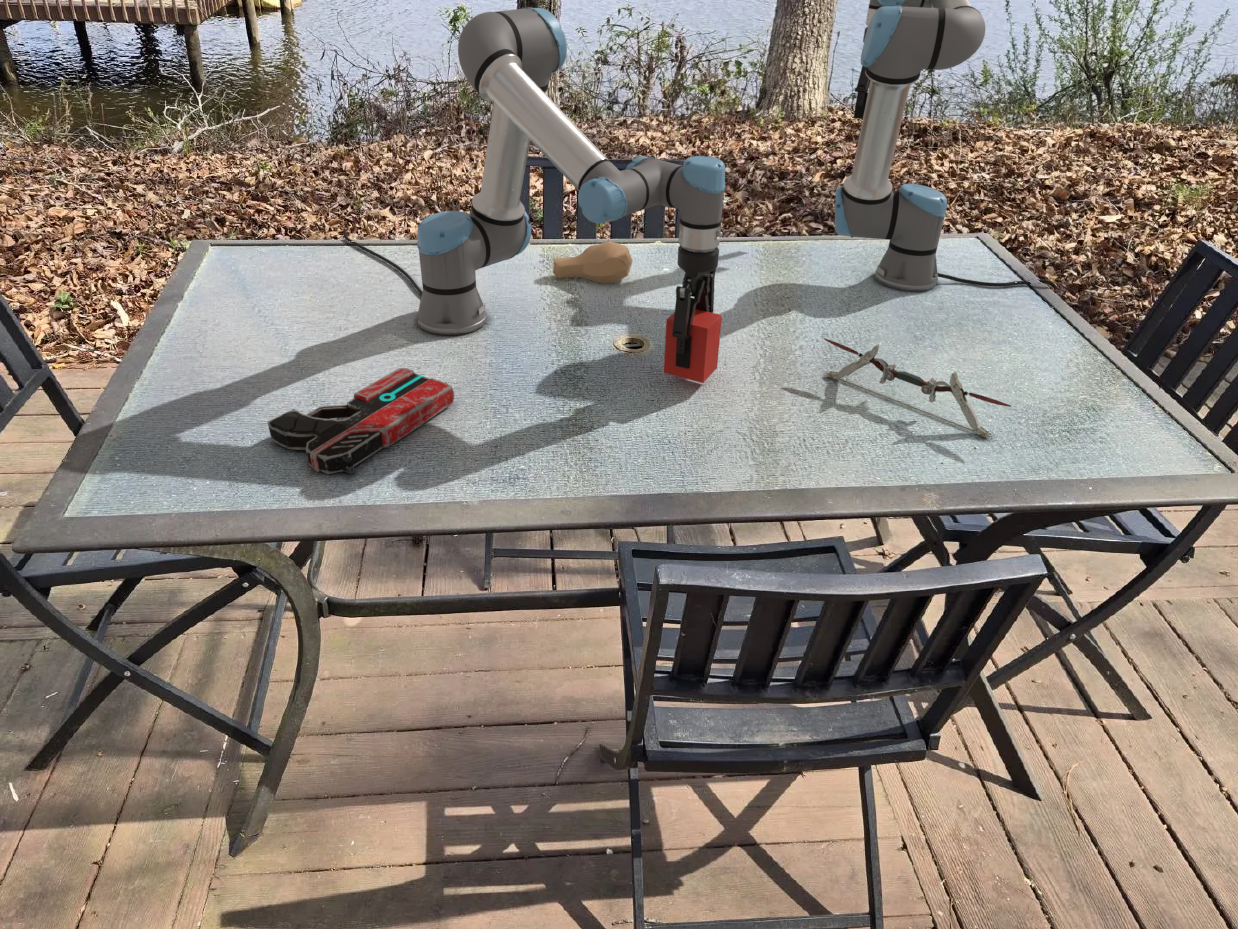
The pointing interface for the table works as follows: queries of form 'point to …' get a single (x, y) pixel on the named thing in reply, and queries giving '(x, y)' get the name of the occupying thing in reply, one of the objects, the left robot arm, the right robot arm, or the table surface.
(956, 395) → the bow
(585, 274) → the squash
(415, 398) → the gun
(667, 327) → the brick
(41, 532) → the table surface
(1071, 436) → the table surface
